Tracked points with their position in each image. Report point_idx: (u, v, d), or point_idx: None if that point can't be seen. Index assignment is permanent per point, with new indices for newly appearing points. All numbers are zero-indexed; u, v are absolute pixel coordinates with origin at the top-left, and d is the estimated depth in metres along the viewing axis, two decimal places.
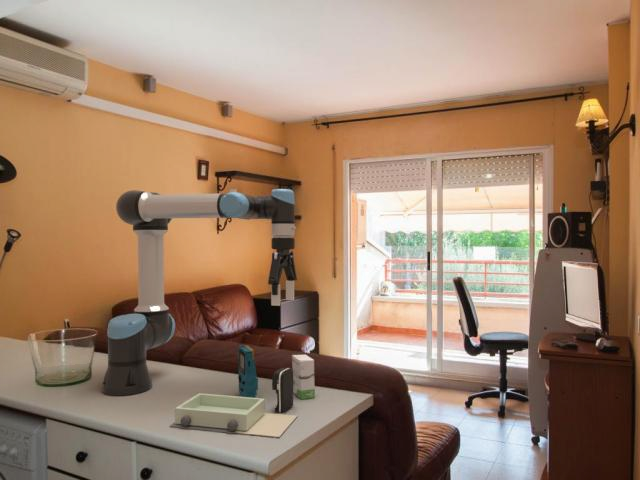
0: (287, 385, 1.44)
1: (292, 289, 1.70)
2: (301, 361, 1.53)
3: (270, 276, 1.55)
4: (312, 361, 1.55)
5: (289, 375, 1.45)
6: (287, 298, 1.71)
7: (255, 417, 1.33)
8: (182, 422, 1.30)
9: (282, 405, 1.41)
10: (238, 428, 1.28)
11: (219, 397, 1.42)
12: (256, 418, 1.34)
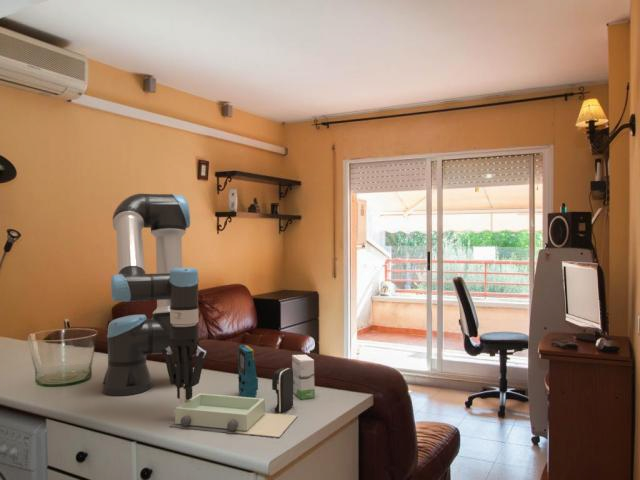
0: (287, 385, 1.44)
1: None
2: (301, 361, 1.53)
3: None
4: (312, 361, 1.55)
5: (289, 375, 1.45)
6: None
7: (255, 417, 1.33)
8: (182, 422, 1.30)
9: (282, 405, 1.41)
10: (238, 428, 1.28)
11: (219, 397, 1.42)
12: (256, 418, 1.34)
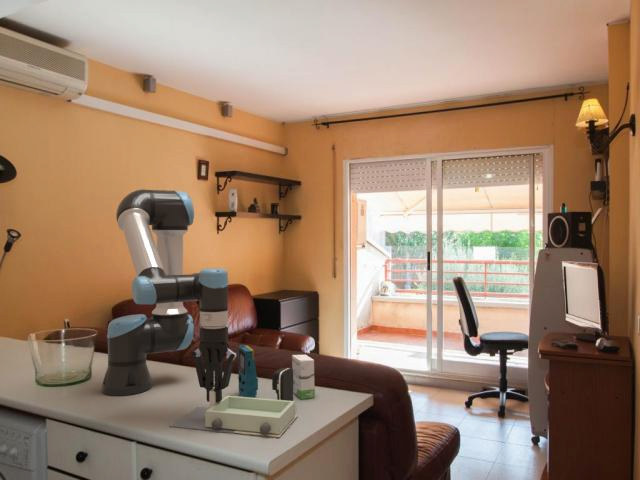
0: (287, 385, 1.44)
1: None
2: (301, 361, 1.53)
3: None
4: (312, 361, 1.55)
5: (289, 375, 1.45)
6: None
7: (287, 420, 1.31)
8: (213, 425, 1.28)
9: None
10: (271, 431, 1.25)
11: (248, 399, 1.40)
12: (287, 421, 1.31)
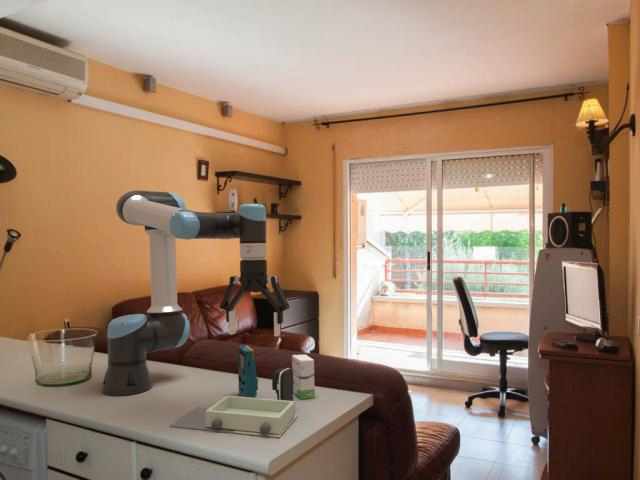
0: (287, 385, 1.44)
1: None
2: (301, 361, 1.53)
3: None
4: (312, 361, 1.55)
5: (289, 375, 1.45)
6: None
7: (287, 420, 1.31)
8: (213, 425, 1.28)
9: None
10: (271, 431, 1.25)
11: (248, 399, 1.40)
12: (287, 421, 1.31)
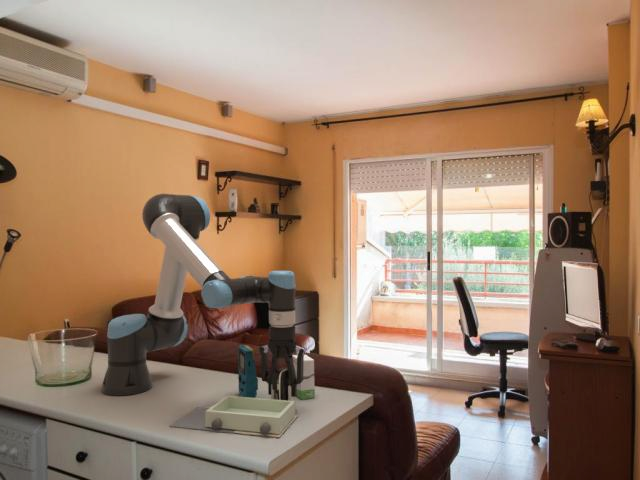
0: (287, 385, 1.44)
1: None
2: None
3: None
4: (312, 361, 1.55)
5: None
6: None
7: (287, 420, 1.31)
8: (213, 425, 1.28)
9: None
10: (271, 431, 1.25)
11: (248, 399, 1.40)
12: (287, 421, 1.31)
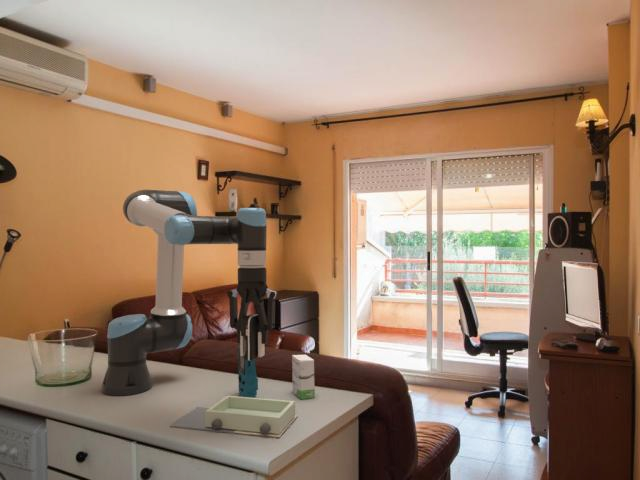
0: (258, 331, 1.33)
1: None
2: (301, 361, 1.53)
3: None
4: (312, 361, 1.55)
5: None
6: None
7: (287, 420, 1.31)
8: (213, 425, 1.28)
9: (251, 352, 1.30)
10: (271, 431, 1.25)
11: (248, 399, 1.40)
12: (287, 421, 1.31)
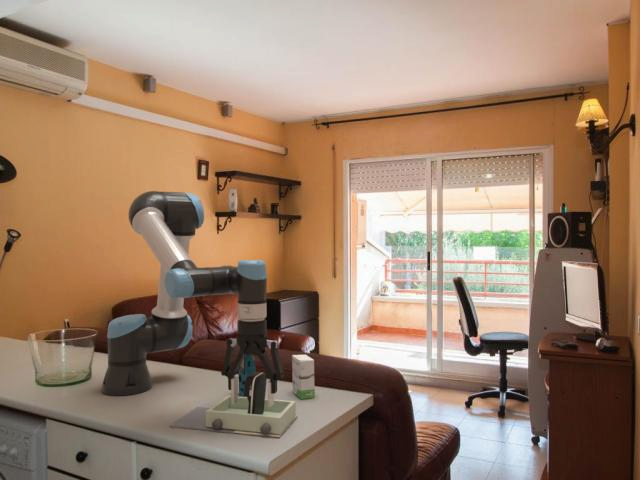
0: (260, 391, 1.33)
1: None
2: (301, 361, 1.53)
3: None
4: (312, 361, 1.55)
5: (263, 380, 1.34)
6: None
7: (287, 420, 1.31)
8: (214, 425, 1.28)
9: (253, 413, 1.30)
10: (271, 431, 1.25)
11: None
12: (288, 421, 1.31)
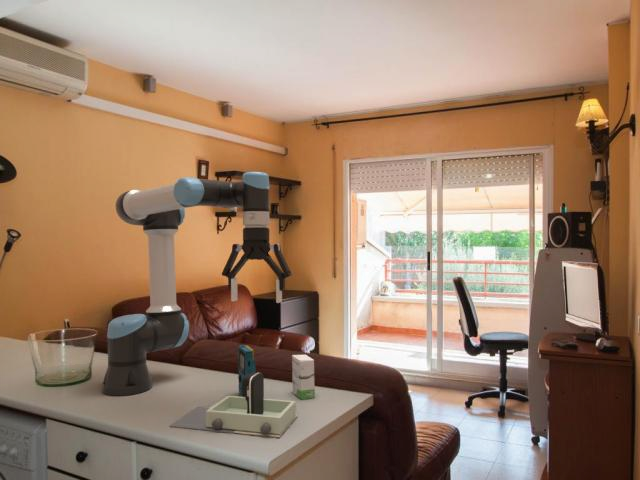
0: (258, 391, 1.33)
1: None
2: (301, 361, 1.53)
3: None
4: (312, 361, 1.55)
5: (260, 380, 1.34)
6: None
7: (287, 420, 1.31)
8: (214, 425, 1.28)
9: (253, 413, 1.30)
10: (271, 431, 1.25)
11: None
12: (288, 421, 1.31)
